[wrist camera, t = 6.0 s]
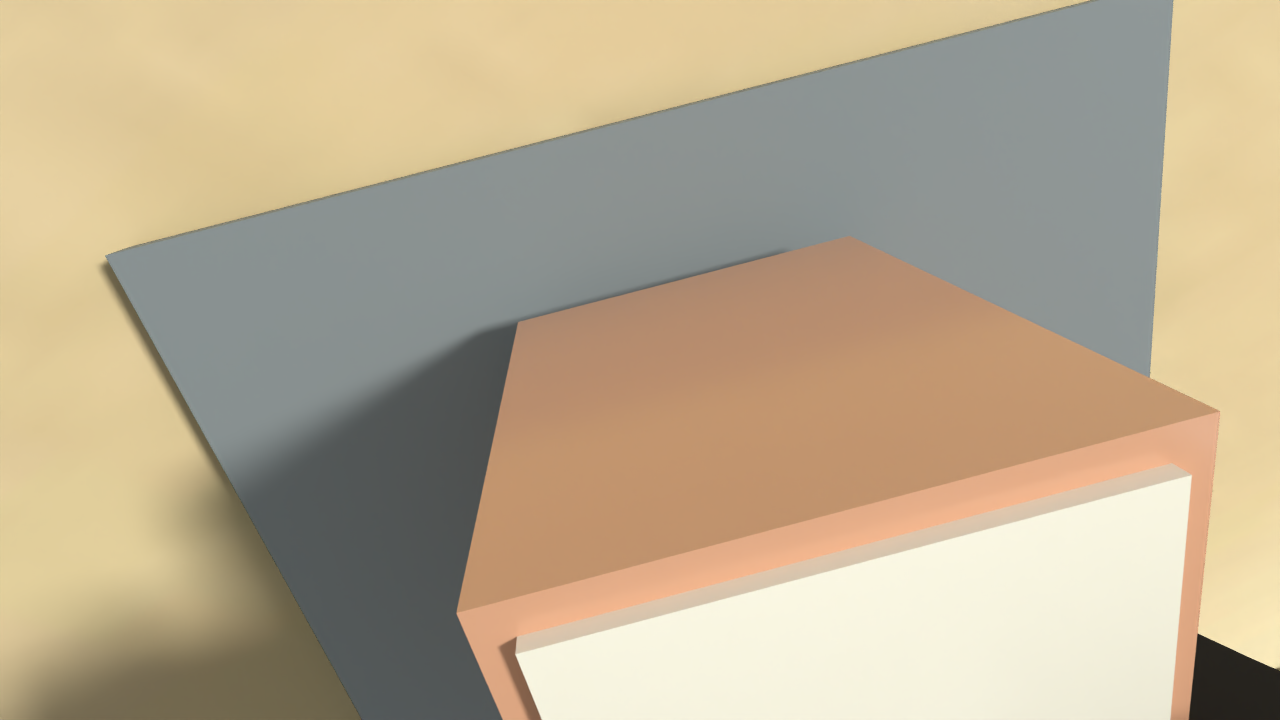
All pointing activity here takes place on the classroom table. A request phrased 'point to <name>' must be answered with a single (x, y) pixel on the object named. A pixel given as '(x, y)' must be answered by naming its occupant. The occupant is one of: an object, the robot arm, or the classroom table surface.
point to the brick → (834, 509)
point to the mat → (627, 288)
